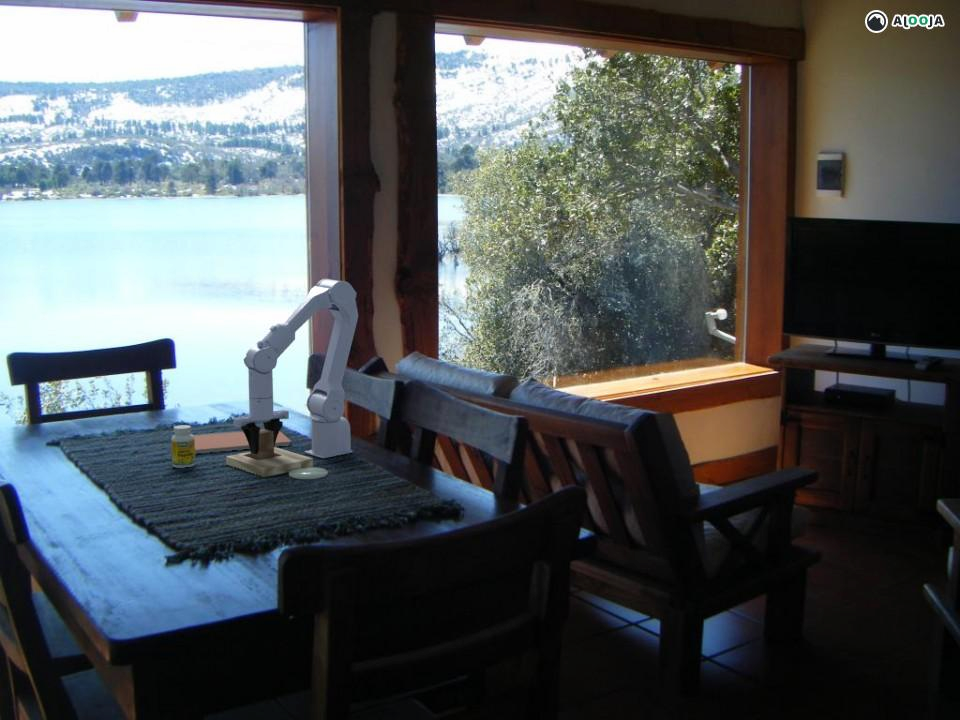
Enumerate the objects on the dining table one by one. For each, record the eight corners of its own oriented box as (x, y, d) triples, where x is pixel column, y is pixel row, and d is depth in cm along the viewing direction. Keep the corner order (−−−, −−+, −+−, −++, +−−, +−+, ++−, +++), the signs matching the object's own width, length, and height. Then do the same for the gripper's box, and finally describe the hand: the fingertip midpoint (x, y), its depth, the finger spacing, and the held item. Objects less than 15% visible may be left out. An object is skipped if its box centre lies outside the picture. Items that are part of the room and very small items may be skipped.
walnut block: (264, 460, 258) (264, 428, 257) (274, 463, 255) (273, 431, 254) (251, 463, 255) (250, 431, 254) (260, 466, 253) (259, 433, 251)
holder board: (275, 454, 264) (274, 447, 263) (313, 466, 253) (312, 458, 252) (226, 464, 254) (226, 456, 254) (263, 477, 243) (263, 468, 242)
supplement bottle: (191, 461, 256) (190, 423, 255) (198, 466, 252) (197, 427, 250) (169, 464, 253) (168, 425, 252) (176, 469, 249) (174, 430, 247)
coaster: (312, 467, 252) (312, 465, 252) (335, 474, 246) (335, 472, 246) (281, 474, 246) (281, 472, 246) (304, 481, 239) (304, 479, 239)
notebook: (276, 434, 289) (276, 427, 288) (291, 447, 273) (291, 440, 273) (174, 442, 278) (174, 435, 277) (184, 457, 262) (184, 449, 262)
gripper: (276, 390, 261) (277, 443, 263) (225, 398, 250) (227, 453, 253) (293, 394, 256) (294, 448, 258) (242, 402, 246) (243, 458, 248)
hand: (262, 451), depth 255 cm, fingers closed on walnut block, 4 cm apart
